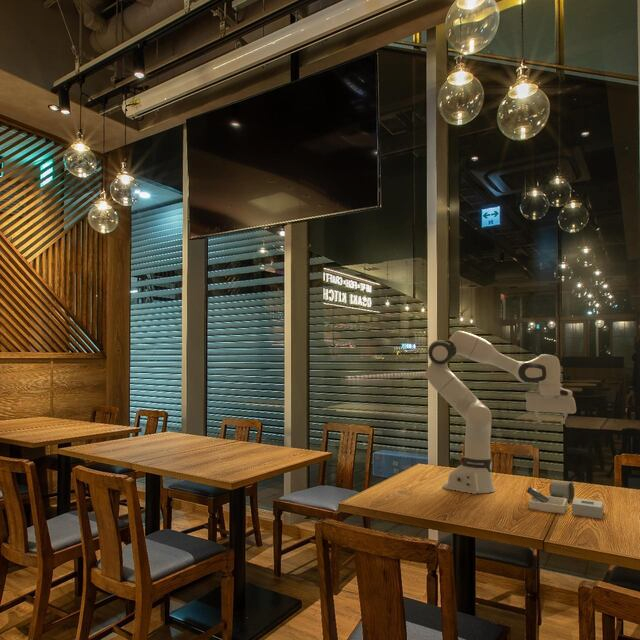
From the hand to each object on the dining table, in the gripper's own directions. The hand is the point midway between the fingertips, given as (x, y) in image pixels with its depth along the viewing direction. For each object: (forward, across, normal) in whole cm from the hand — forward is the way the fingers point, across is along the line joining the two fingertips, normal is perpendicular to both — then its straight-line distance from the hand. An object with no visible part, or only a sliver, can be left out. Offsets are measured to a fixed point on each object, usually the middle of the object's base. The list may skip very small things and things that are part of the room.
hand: (550, 422), depth 227 cm
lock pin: (+29, 0, -21) cm, 36 cm away
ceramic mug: (+31, +4, -6) cm, 32 cm away
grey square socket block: (+31, +15, -22) cm, 41 cm away
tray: (+31, +1, -22) cm, 38 cm away
